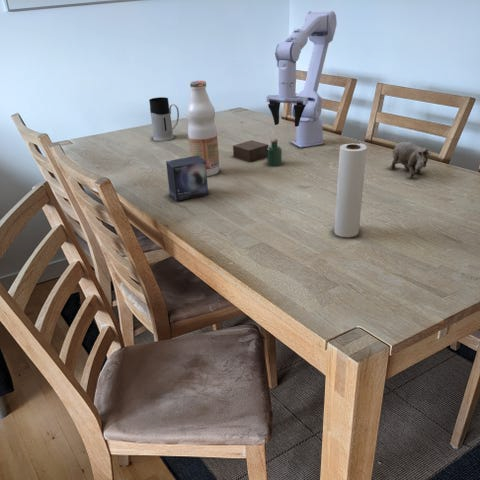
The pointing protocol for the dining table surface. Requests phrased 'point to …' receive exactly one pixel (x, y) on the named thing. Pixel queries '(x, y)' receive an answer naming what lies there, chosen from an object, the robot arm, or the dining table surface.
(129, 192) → the dining table surface
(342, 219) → the paper towel roll
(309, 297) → the dining table surface
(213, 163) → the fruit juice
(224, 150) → the dining table surface
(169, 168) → the small box
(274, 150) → the bottle
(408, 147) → the rhinoceros figurine
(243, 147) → the block
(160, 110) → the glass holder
